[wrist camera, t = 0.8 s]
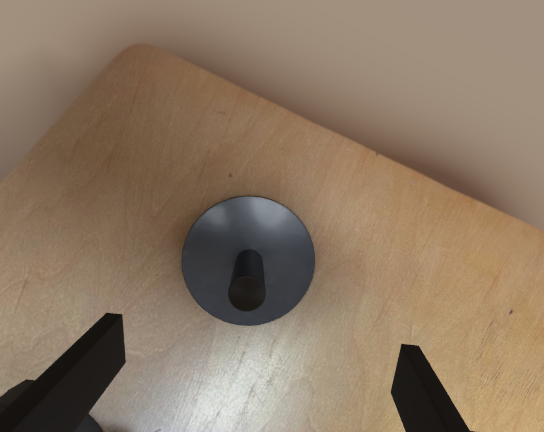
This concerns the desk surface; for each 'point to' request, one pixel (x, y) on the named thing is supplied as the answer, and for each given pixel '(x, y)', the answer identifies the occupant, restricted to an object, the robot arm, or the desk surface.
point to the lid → (248, 260)
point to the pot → (88, 425)
